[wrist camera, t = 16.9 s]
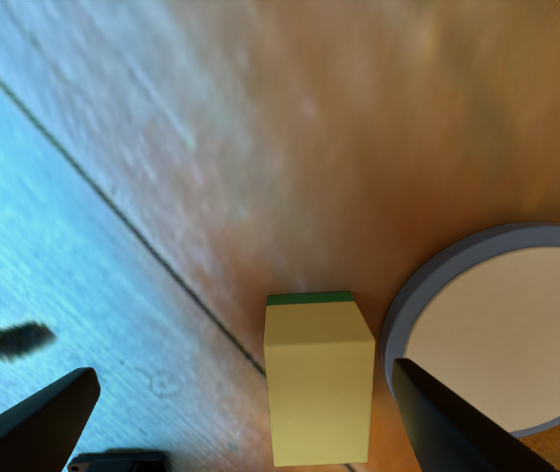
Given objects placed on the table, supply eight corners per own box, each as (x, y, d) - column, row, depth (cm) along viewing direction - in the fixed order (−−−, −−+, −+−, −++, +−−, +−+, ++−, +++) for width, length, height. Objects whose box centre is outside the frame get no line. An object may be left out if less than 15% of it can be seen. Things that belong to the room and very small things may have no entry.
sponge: (347, 391, 16) (368, 463, 12) (274, 394, 16) (273, 467, 13) (349, 290, 14) (376, 340, 10) (267, 294, 14) (263, 346, 10)
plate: (585, 421, 17) (607, 440, 16) (372, 431, 17) (378, 451, 16) (668, 213, 13) (706, 218, 12) (386, 228, 13) (396, 235, 12)
